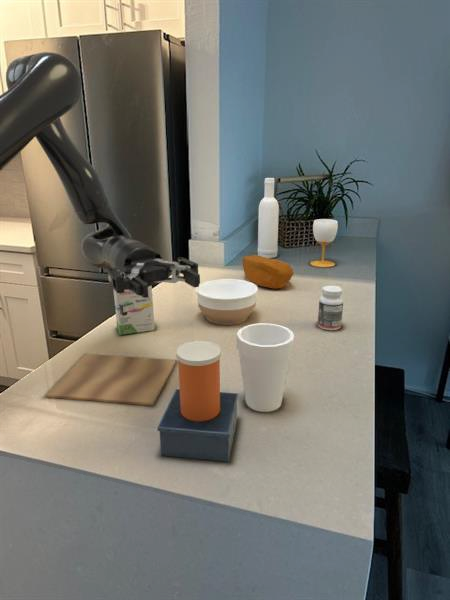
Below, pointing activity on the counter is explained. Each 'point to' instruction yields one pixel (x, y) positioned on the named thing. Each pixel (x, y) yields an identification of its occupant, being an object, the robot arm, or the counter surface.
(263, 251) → the bottle
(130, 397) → the cutting board
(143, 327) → the ink box
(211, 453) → the tin
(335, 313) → the pill bottle
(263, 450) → the counter surface
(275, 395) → the foam cup
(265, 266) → the bread
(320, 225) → the cup
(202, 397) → the tub
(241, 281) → the bowl
